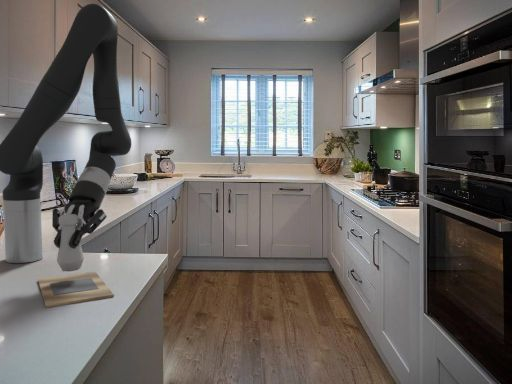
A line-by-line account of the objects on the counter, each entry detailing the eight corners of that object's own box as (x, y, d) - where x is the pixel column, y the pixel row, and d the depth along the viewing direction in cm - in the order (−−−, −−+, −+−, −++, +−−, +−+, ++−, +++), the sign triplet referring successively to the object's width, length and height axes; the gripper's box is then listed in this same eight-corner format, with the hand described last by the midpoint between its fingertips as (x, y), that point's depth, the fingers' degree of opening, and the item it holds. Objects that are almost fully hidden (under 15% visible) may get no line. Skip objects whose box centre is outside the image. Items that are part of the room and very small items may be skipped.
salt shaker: (74, 273, 99) (71, 216, 98) (52, 271, 100) (49, 216, 99) (89, 266, 105) (86, 213, 104) (67, 265, 106) (65, 212, 105)
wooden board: (38, 281, 103) (38, 278, 103) (95, 273, 110) (95, 271, 110) (46, 307, 86) (46, 304, 86) (113, 296, 93) (113, 293, 93)
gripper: (58, 178, 109) (28, 236, 98) (110, 179, 107) (85, 238, 96) (72, 197, 115) (44, 254, 104) (121, 198, 113) (99, 256, 102)
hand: (64, 246), depth 100 cm, fingers closed on salt shaker, 3 cm apart
